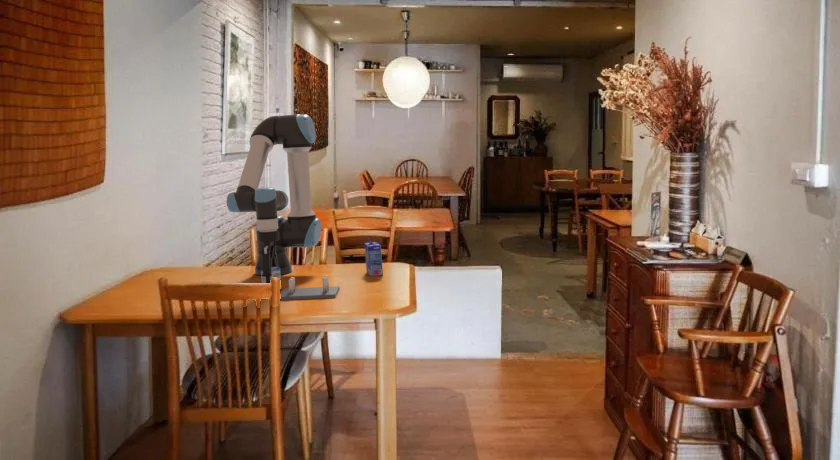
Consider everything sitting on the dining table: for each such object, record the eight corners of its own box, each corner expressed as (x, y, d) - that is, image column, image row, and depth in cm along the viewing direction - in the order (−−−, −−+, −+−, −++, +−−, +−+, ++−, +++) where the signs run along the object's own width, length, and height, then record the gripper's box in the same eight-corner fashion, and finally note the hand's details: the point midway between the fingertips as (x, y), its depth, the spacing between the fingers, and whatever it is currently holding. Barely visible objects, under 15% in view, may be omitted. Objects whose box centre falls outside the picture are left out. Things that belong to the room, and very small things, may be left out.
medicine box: (273, 293, 283) (272, 270, 281) (262, 294, 283) (260, 270, 282) (281, 289, 290) (280, 266, 289) (270, 289, 291) (269, 266, 290)
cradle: (284, 292, 285) (283, 275, 284) (339, 289, 285) (338, 272, 284) (277, 300, 271) (276, 282, 270) (335, 297, 271) (334, 280, 270)
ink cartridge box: (365, 272, 318) (363, 237, 316) (378, 271, 319) (377, 236, 317) (369, 276, 308) (367, 240, 306) (383, 275, 309) (381, 239, 307)
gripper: (263, 227, 295) (267, 285, 298) (251, 234, 273) (255, 297, 276) (283, 226, 295) (287, 284, 298) (272, 233, 273) (276, 296, 276)
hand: (272, 291), depth 287 cm, fingers open, 9 cm apart
